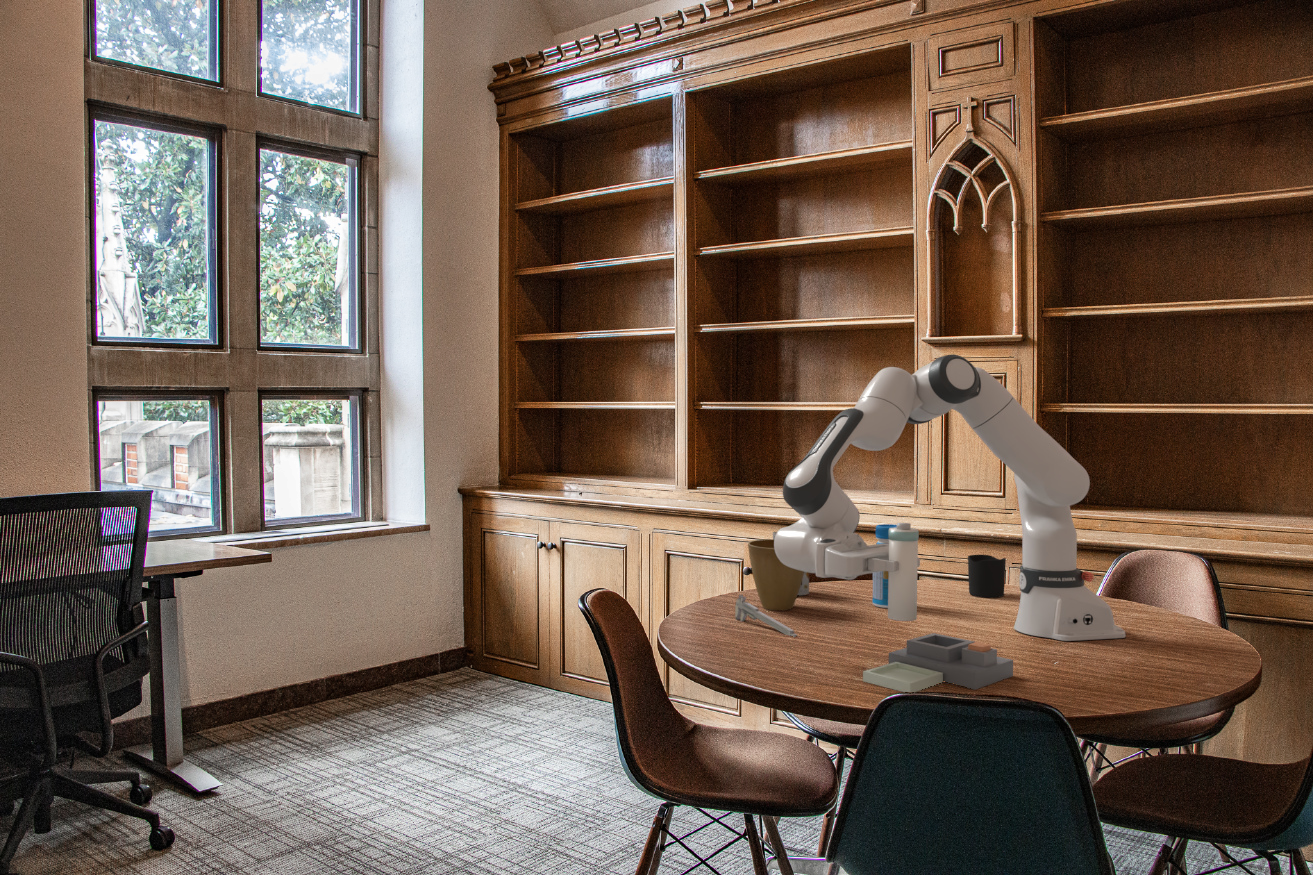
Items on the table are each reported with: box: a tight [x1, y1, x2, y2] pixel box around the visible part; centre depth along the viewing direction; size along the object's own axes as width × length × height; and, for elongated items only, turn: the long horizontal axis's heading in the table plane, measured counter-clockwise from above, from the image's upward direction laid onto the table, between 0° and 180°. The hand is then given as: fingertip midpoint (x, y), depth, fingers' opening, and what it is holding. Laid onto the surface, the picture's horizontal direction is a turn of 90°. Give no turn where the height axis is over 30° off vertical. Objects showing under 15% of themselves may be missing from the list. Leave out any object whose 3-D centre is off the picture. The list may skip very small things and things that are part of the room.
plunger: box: [968, 641, 992, 652], centre depth 173 cm, size 3×3×3 cm
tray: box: [862, 662, 944, 693], centre depth 171 cm, size 10×10×2 cm
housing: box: [888, 632, 1014, 691], centre depth 177 cm, size 13×18×6 cm
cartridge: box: [887, 522, 920, 622], centre depth 171 cm, size 5×5×17 cm
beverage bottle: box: [871, 523, 897, 609], centre depth 237 cm, size 8×8×20 cm
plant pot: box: [747, 538, 804, 611], centre depth 235 cm, size 15×15×16 cm
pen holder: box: [967, 554, 1007, 599], centre depth 251 cm, size 9×9×10 cm
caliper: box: [734, 594, 798, 638], centre depth 214 cm, size 20×1×6 cm, turn 34°
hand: (907, 564), depth 170 cm, fingers closed on cartridge, 5 cm apart
